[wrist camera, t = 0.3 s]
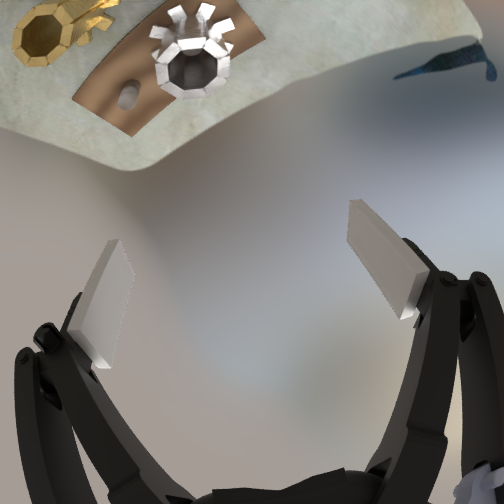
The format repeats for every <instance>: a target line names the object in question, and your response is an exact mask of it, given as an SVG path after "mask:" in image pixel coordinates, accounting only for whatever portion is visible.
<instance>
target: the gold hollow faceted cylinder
mask: <svg viewBox="0 0 504 504" xmlns="http://www.w3.org/2000/svg"><path fill="white" fill-rule="evenodd" d="M120 3H121V0H47V1H45V2H43V3H41V4H39V5H37V6H35V7H33V8H32V9H31V10H30V11H29V12H28V13H27V14H26V15H25V16H24V17H23V18H22V19H21V20H20V21H19V22H18V23H17V25H16V26H17V27H16V28H15V29H14V34H13V43H12V50H15V49H16V50H15V51H14V52H13V54H14V55H15V56H16V57H17V58H18V59H19V60H20V61H21V62H22V63H23V64H24V65H26V64H27V63H28V67H36V66H48V65H49V64H52V63H53V62H54V61H55V60H56V59H57V58H58V57H59V56H60V55H61V54H63V53H64V52H65V51H66V50H67V49H68V48H69V47H70V46H71V45H72V44H74V43H75V42H76V41H77V44H78V46H81V45H84V44H87V43H90V42H91V41H92V40H93V39H92V34H91V28H92V27H93V26H95V27H97V28H99V29H101V30H103V31H106V30H107V29H108V28H109V27H110V25H111V24H112V23H113V22H114V20H115V19H114V18H112V17H110V16H108V15H106V14H104V11H105V8H107V7H110V6H114V5H118V4H120Z"/></svg>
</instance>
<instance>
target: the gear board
mask: <svg viewBox="0 0 504 504" xmlns="http://www.w3.org/2000/svg"><path fill="white" fill-rule="evenodd" d="M201 2H205V3H209V4H213V5H215V8H214V10H213V12H212V14H211V16H210V19H211V20H212V21H213V22H214V21H217V20H220V19H222V18H225V17H228V16H229V18H230V19H231V21H232V24H233V26H234V28H235V29H232V30H229V31H226V32H224V33H221V34H222V37H223V39H224V40H227V41H231V42H232V43H233V45H234V46H233V47H232V49H231V51H230V53H229V55H230V60H231V59H233V58H234V57H236V56H237V55H239V54H241V53H242V52H244V51H246V50H247V49H249V48H251V47H253V46H254V45H256V44H258V43H260V42H261V41H263V40H265V39H266V38H265V37H264V35H263V34H262V33H261V31H260V30H259V29H258V28H257V26H256V25H255V24H254V23H253V21H252V20H251V19H250V18H249V16H248V15H247V14H246V13H245V12H244V10H243V9H242V8H241V7H240V6H239V4H238V3H237V2H236V1H235V0H168V1H166V2H165V3H164V4H162V5H161V6H160V7H159V8H157V9H156V10H155V11H154V12H152V13H151V14H150V15H149V16H148V17H146V18H145V19H144V20H143V21H142V22H141V23H140V24H138V25H137V26H136V27H135V28H134V29H133V30H132V31H131V32H130V33H129V34H128V35H127V36H126V37H125V38H124V39H123V40H122V41H121V42H120V43H119V44H118V45H117V46H116V47H115V48H114V49H113V50H112V51H111V52H110V53H109V54H108V55H107V56H106V57H105V58H104V59H103V61H102V62H101V63H100V64H99V65H98V66H97V67H96V69H95V70H94V71H93V72H92V73H91V75H90V76H89V77H88V78H87V79H86V81H85V82H84V83H83V84H82V86H81V87H80V88H79V90H78V91H77V92H76V94H75V95H74V96H73V98H72V100H73V101H75V102H76V103H78V104H80V105H81V106H83V107H85V108H86V109H88V110H90V111H91V112H93V113H94V114H96V115H98V116H99V117H101V118H102V119H104V120H106V121H107V122H109V123H110V124H112V125H113V126H115V127H117V128H118V129H120V130H121V131H123V132H124V133H126V134H128V135H129V136H131V137H133V136H134V135H135V134H136V133H137V132H138V131H139V130H140V129H141V128H142V127H143V126H145V125H146V124H147V123H148V122H149V121H150V120H151V119H152V118H154V117H155V116H156V115H157V114H158V113H159V112H160V111H162V110H163V109H164V108H165V107H166V106H168V105H169V104H170V103H171V102H173V101H174V100H175V99H176V97H175V96H173V95H171V94H170V93H168V92H166V91H165V90H163V89H161V88H160V85H158V82H157V75H156V67H155V63H156V60H155V59H154V57H153V56H152V54H151V52H152V50H153V49H155V48H157V47H159V46H161V42H162V39H158V38H152V37H149V36H150V33H151V30H152V28H153V25H154V23H155V24H161V25H167V26H170V25H171V24H172V23H173V22H174V21H173V20H172V18H171V16H170V15H169V13H168V12H167V11H168V9H170V8H172V7H174V6H176V5H179V4H181V5H182V7H183V8H184V10H185V12H186V14H187V15H192V14H196V12H197V10H198V8H199V6H200V4H201ZM202 49H203V48H196V49H187V50H181V51H182V52H183V53H184V54H185V55H189V56H193V55H197V54H198V53H200V52H201V51H202Z"/></svg>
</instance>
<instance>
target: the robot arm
mask: <svg viewBox="0 0 504 504" xmlns="http://www.w3.org/2000/svg"><path fill="white" fill-rule="evenodd" d="M347 242H348V244H349V245H350V246H351V248H352V249H353V251H354V252H355V253H356V255H357V256H358V258H359V259H360V261H361V262H362V263H363V265H364V266H365V268H366V269H367V271H368V272H369V273H370V275H371V277H372V278H373V279H374V281H375V282H376V284H377V286H378V287H379V289H380V290H381V292H382V293H383V295H384V296H385V298H386V299H387V301H388V302H389V304H390V305H391V307H392V309H393V310H394V312H395V313H396V315H397V317H398V318H399V320H402V319H405V318H408V317H411V316H412V315H413V313H414V311H415V308H416V307H417V308H418V310H419V311H420V314H419V316H418V319H417V321H416V323H415V325H414V327H413V328H416V330H415V335H414V340H413V345H412V349H411V353H410V357H409V361H408V365H407V368H406V372H405V376H404V379H403V382H402V386H401V389H400V392H399V395H398V399H397V401H396V405H395V408H394V410H393V413H392V416H391V418H390V421H389V424H388V426H387V429H386V432H385V434H384V436H383V439H382V441H381V444H380V445H379V447H378V449H377V450H376V452H375V453H374V455H373V456H372V458H371V460H370V462H369V463H368V465H367V467H366V469H365V471H364V472H362V471H351V470H347V471H345V469H344V468H341V469H338V470H334V471H330V472H327V473H323V474H319V475H315V476H312V477H310V478H308V479H305V480H303V481H301V482H299V483H297V484H294V485H292V486H290V487H288V488H285V489H282V490H264V489H253V488H232V489H213V490H212V493H210V494H208V495H205V496H202V497H201V498H199V499H195V498H194V497H193V496H192V495H191V494H190V493H189V492H188V491H187V490H185V489H184V488H183V487H181V486H180V485H179V484H177V483H176V482H175V481H174V480H172V479H171V477H170V476H169V475H168V474H167V473H166V472H165V471H164V470H163V469H162V468H161V467H160V465H159V464H158V463H157V462H156V461H155V459H154V458H153V457H152V456H151V455H150V453H149V452H148V451H147V450H146V449H145V447H144V446H143V445H142V444H141V442H140V441H139V440H138V438H137V437H136V436H135V434H134V433H133V432H132V430H131V429H130V428H129V426H128V425H127V423H126V422H125V421H124V419H123V418H122V416H121V415H120V413H119V412H118V410H117V409H116V407H115V406H114V404H113V403H112V401H111V400H110V398H109V396H108V395H107V393H106V392H105V390H104V388H103V386H102V385H101V383H100V381H99V380H98V378H97V376H96V374H95V373H94V371H93V370H92V369H91V364H92V362H93V363H94V364H95V365H96V366H97V367H98V368H112V365H113V360H114V355H115V351H116V347H117V342H118V338H119V334H120V330H121V326H122V322H123V318H124V314H125V311H126V307H127V303H128V300H129V296H130V293H131V290H132V286H133V283H134V280H135V274H134V272H133V269H132V267H131V265H130V263H129V260H128V258H127V255H126V253H125V251H124V248H123V246H122V243H121V241H120V239H115V240H110V241H108V242H107V244H106V246H105V248H104V250H103V252H102V254H101V256H100V258H99V259H98V261H97V263H96V265H95V268H94V269H93V271H92V273H91V275H90V278H89V280H88V282H87V284H86V286H85V288H84V290H83V292H80V293H79V294H78V295H77V296H76V297H75V299H74V300H73V302H72V304H71V307H70V309H69V311H68V313H67V314H68V315H67V316H66V318H65V321H64V323H63V326H62V328H61V330H60V332H59V331H58V329H57V328H56V327H55V325H54V324H53V323H50V322H48V323H45V324H43V325H41V326H40V327H39V328H38V329H37V331H36V332H35V335H34V337H33V338H34V339H33V342H34V343H35V344H36V345H37V346H38V347H39V348H40V350H41V351H40V352H37V353H35V352H34V351H33V350H32V349H31V348H30V347H25V348H23V349H22V350H20V351H19V353H18V354H17V356H16V359H15V372H14V393H15V394H14V395H15V416H16V427H17V435H18V443H19V450H20V456H21V461H22V466H23V471H24V476H25V480H26V484H27V488H28V491H29V495H30V498H31V502H32V504H97V501H96V499H95V497H94V494H93V492H92V489H91V487H90V484H89V481H88V479H87V476H86V473H85V470H84V468H83V464H82V461H81V458H80V455H79V451H78V448H77V444H76V441H75V437H74V433H73V430H72V427H73V429H74V431H75V433H76V435H77V437H78V439H79V441H80V442H81V444H82V446H83V448H84V450H85V452H86V453H87V455H88V457H89V459H90V460H91V462H92V463H93V465H94V467H95V469H96V470H97V472H98V473H99V475H100V476H101V478H102V479H103V481H104V482H105V484H106V485H107V487H108V489H109V493H108V495H107V496H108V499H109V501H110V503H111V504H431V503H429V502H427V501H428V499H429V496H430V494H431V492H432V489H433V487H434V484H435V482H436V479H437V477H438V474H439V471H440V468H441V465H442V462H443V459H444V456H445V453H446V449H447V444H448V439H447V437H446V436H445V435H444V430H445V425H446V421H447V417H448V413H449V408H450V403H451V398H452V393H453V386H454V381H455V374H456V366H457V357H458V359H459V367H460V377H461V390H462V412H463V413H462V414H463V415H462V418H463V424H462V425H463V428H462V451H461V467H462V468H461V470H462V480H461V481H460V483H459V485H457V486H456V487H455V489H454V492H453V495H454V497H455V498H456V500H455V503H454V504H504V313H503V310H502V307H501V304H500V301H499V299H498V296H497V294H496V291H495V289H494V286H493V284H492V281H491V280H490V278H489V277H488V276H487V275H486V274H484V273H482V272H477V271H476V272H473V273H472V274H471V277H470V279H469V280H458V279H457V277H456V276H455V275H453V274H452V273H450V272H447V271H439V269H438V268H437V267H436V266H435V265H434V264H433V263H432V262H431V260H429V258H428V257H427V256H426V255H424V253H423V252H422V251H421V250H420V249H419V248H418V246H417V245H415V244H414V242H412V241H410V240H409V239H407V238H400V237H399V236H398V235H397V233H396V232H395V231H394V230H393V229H392V228H391V227H390V226H389V225H388V224H387V223H386V222H385V221H384V220H383V219H382V218H381V217H380V216H379V215H378V214H377V213H375V212H374V211H373V210H372V209H371V208H370V207H369V206H368V205H367V204H366V203H365V202H364V201H363V200H362V199H359V200H351V201H350V205H349V220H348V231H347Z"/></svg>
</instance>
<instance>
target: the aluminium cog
mask: <svg viewBox="0 0 504 504" xmlns="http://www.w3.org/2000/svg"><path fill="white" fill-rule="evenodd" d="M214 8H215V5H213V4H209V3H205V2H201V4H200V6H199V8H198V10H197V12H196V14H192V15H187V14H186V12H185V10H184V8H183V7H182V5H181V4H179V5H176V6H174V7H172V8H170V9H168V11H167V12H168V13H169V15H170V16H171V18H172V20H173V21H174V22H173V23H172V24H171V25H170V26H167V25H161V24H155V23H154V25H153V28H152V30H151V33H150V36H149V37H152V38H158V39H162V42H161V46H159V47H157V48H155V49H153V50H152V52H151V54H152V56H153V57H154V59H155V60H156V63H155V67H156V75H157V82H158V85H160V88H161V89H163V90H165V91H166V92H168V93H170V94H171V95H173V96H175V97H176V98H178V99H179V98H180V97H181V96H182V100H184V99H193V98H202V97H206V93H207V94H208V95H211V94H212V93H213V92H215V91H216V90H217V89H218V88H219V87H220V86H221V85H223V84H224V83H225V82H226V81H227V77H229V67H230V55H229V53H230V51H231V49H232V47H233V46H234V45H233V43H232V42H231V41H227V40H224V39H223V37H222V34H221V33H224V32H226V31H229V30H232V29H235V28H234V26H233V24H232V21H231V19H230V18H229V16H228V17H225V18H222V19H220V20H217V21H214V22H213V21H212V20H211V19H210V16H211V14H212V12H213V10H214ZM196 48H203V49H202V51H201V52H200V53H198V54H197V55H193V56H189V55H185V54H184V53H183V52H182V51H181V50H187V49H196Z"/></svg>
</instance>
